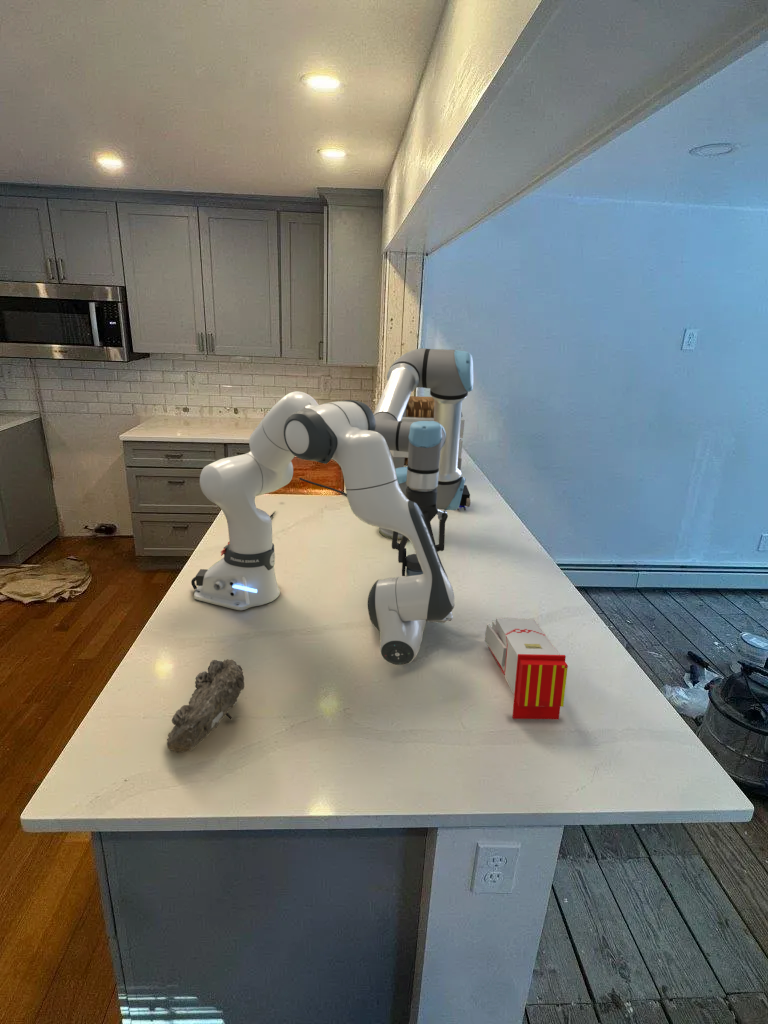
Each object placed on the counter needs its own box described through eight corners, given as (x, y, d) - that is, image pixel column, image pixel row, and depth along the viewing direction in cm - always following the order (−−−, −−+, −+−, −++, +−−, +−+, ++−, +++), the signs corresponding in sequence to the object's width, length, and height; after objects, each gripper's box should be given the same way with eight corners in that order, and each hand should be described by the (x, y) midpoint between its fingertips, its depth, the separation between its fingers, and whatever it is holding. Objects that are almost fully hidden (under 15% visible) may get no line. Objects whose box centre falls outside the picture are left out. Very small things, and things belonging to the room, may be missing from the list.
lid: (403, 561, 145) (403, 554, 144) (424, 560, 146) (425, 553, 145) (407, 570, 140) (408, 563, 139) (430, 570, 141) (430, 563, 140)
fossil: (192, 660, 117) (244, 628, 112) (224, 691, 120) (276, 661, 115) (142, 746, 98) (202, 712, 93) (182, 779, 101) (242, 748, 96)
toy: (531, 603, 136) (576, 661, 106) (526, 655, 139) (569, 725, 109) (481, 602, 135) (512, 660, 106) (477, 654, 138) (507, 724, 109)
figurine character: (470, 515, 225) (465, 499, 238) (472, 498, 221) (467, 483, 235) (453, 515, 224) (449, 499, 238) (455, 497, 221) (451, 482, 234)
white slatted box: (382, 463, 289) (386, 382, 275) (445, 464, 293) (451, 384, 279) (390, 482, 257) (394, 392, 243) (460, 483, 261) (468, 394, 247)
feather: (282, 505, 226) (285, 501, 225) (264, 529, 199) (267, 524, 198) (279, 503, 225) (281, 499, 225) (260, 526, 199) (263, 522, 198)
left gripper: (452, 610, 131) (456, 583, 144) (366, 599, 134) (377, 574, 147) (450, 634, 133) (454, 605, 146) (365, 622, 136) (376, 596, 149)
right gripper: (458, 484, 139) (451, 569, 147) (383, 480, 139) (379, 566, 147) (462, 493, 132) (454, 582, 140) (382, 490, 132) (378, 579, 140)
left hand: (414, 589), depth 146 cm, fingers closed on jar, 5 cm apart
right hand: (415, 574), depth 144 cm, fingers closed on lid, 6 cm apart
